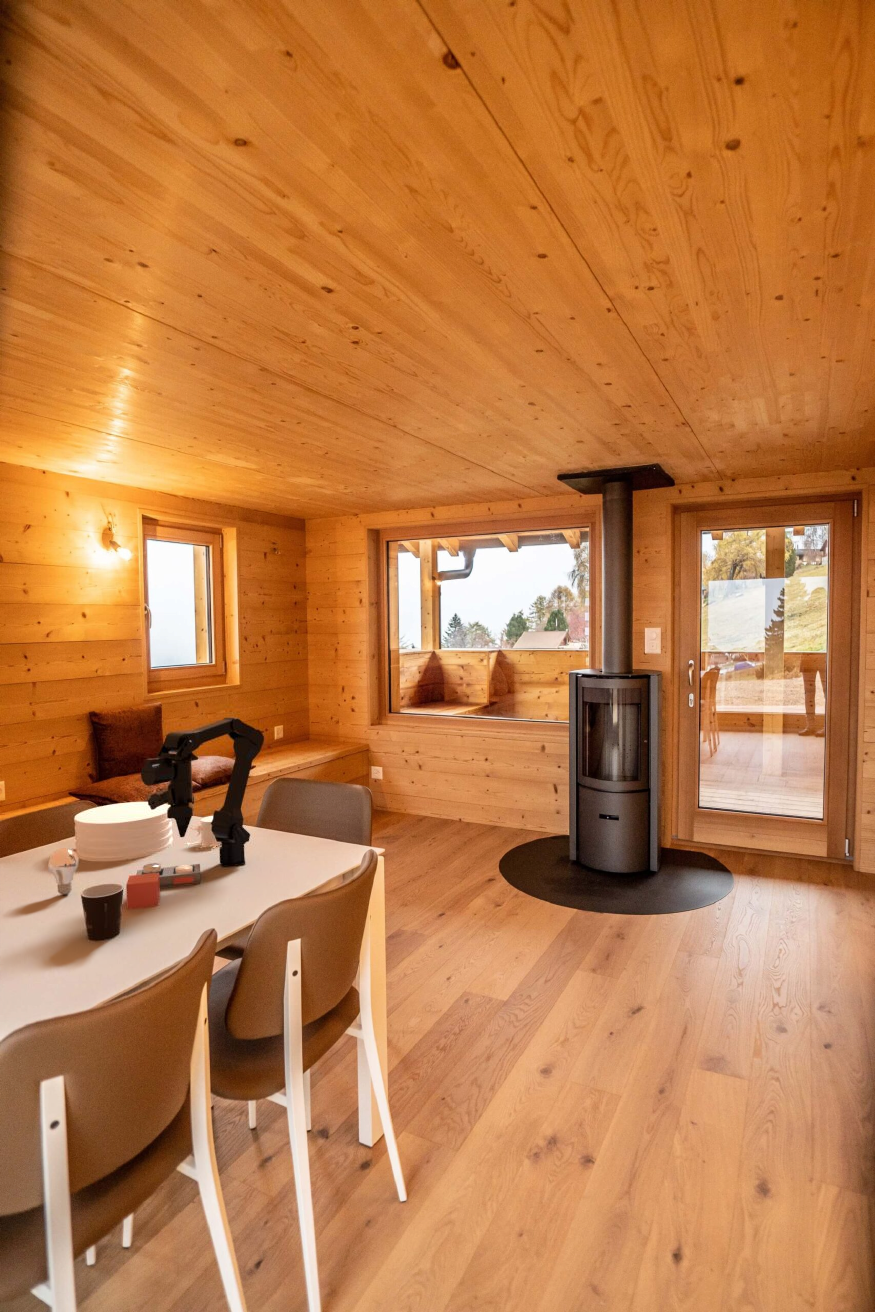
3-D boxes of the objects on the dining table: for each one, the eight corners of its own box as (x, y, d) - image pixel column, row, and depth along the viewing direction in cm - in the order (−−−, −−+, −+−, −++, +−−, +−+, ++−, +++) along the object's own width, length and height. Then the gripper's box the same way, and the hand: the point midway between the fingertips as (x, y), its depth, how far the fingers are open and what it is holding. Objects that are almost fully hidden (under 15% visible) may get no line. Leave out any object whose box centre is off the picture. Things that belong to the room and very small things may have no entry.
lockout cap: (160, 895, 186) (159, 872, 186) (158, 905, 179) (157, 881, 179) (130, 899, 184) (129, 875, 184) (127, 909, 177) (126, 884, 177)
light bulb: (67, 900, 184) (65, 853, 183) (43, 899, 185) (41, 852, 185) (86, 891, 191) (84, 845, 190) (62, 889, 192) (60, 844, 192)
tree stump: (179, 840, 238) (178, 816, 238) (240, 832, 246) (239, 808, 246) (185, 857, 220) (185, 830, 220) (251, 847, 228) (250, 822, 228)
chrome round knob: (161, 870, 197) (161, 862, 197) (160, 875, 193) (160, 867, 193) (144, 872, 196) (143, 864, 196) (142, 877, 192) (142, 869, 192)
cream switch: (193, 872, 200) (192, 864, 200) (192, 877, 195) (192, 869, 195) (175, 874, 198) (175, 866, 198) (175, 879, 194) (174, 871, 194)
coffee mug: (91, 928, 166) (89, 884, 165) (130, 926, 166) (129, 882, 166) (70, 950, 154) (68, 903, 154) (112, 948, 155) (110, 901, 154)
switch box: (200, 874, 202) (199, 863, 202) (199, 884, 194) (199, 873, 194) (137, 881, 197) (137, 870, 197) (134, 891, 189) (134, 880, 189)
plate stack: (140, 831, 250) (139, 798, 249) (190, 843, 233) (189, 808, 233) (58, 852, 227) (56, 815, 227) (107, 867, 211) (105, 828, 210)
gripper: (151, 775, 202) (152, 831, 203) (145, 788, 185) (147, 849, 185) (193, 772, 206) (195, 827, 206) (191, 784, 188) (193, 845, 188)
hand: (182, 836), depth 196 cm, fingers closed
